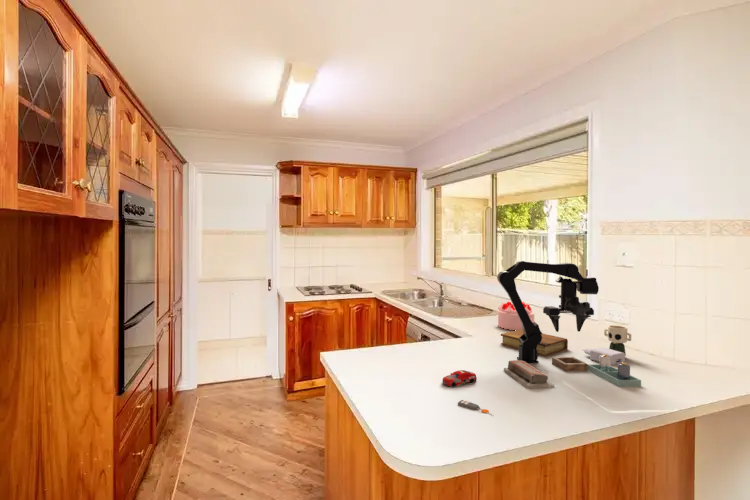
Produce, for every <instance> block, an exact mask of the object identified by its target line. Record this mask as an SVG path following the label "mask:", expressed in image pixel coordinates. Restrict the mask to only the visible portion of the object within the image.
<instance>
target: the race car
mask: <svg viewBox="0 0 750 500" xmlns="http://www.w3.org/2000/svg"><path fill="white" fill-rule="evenodd" d="M477 379H478V377H477V374H476V373H474V372H473V371H469V370H465V369H464V370H462V369H460V370H456V371H453V372H450V373H449V375H446V376H443V378H442V384H443V385H445V386H447V387H451V388H455V387H457V386H458V387H459V386H463V385H468V384H470V385H471V384H474V383H476V382H477Z"/></svg>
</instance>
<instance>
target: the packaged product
mask: <svg viewBox="0 0 750 500" xmlns="http://www.w3.org/2000/svg"><path fill="white" fill-rule="evenodd" d="M503 372H504V373H506V374H508V376H510V377H511V378H512V379H514V380H515V381H516V382H518V384H521V386H523V387H525V388H526V389H530V390H531V389H547V388H548V389H549V388H550V389H551V388H553V389H554V388H555V384H554V383H552V382H550V381H548V379H549V377H548V375H546V374H545V373H544V372H542V371H540V370H539V369H537V368H536V367H534V366H532V365H531V364H530V363H526V362H525V361H522V360H519V359H516V360H509V361H508V363H507V367H504V368H503Z"/></svg>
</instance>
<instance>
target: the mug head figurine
mask: <svg viewBox="0 0 750 500" xmlns="http://www.w3.org/2000/svg"><path fill="white" fill-rule="evenodd" d="M603 334H604V336H605V337H607V339H608V341H610V343H609V347H608V349H611V350H615V351H619V352H623V353H625V357H626V356H627V355H626V354H627V353H626V346H625V344H626V343H627V342H631V341H632V334H631V333H630V332H628V327H626V326H623V325H615V324H613V325H608V327H607V328H604V332H603Z"/></svg>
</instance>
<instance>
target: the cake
mask: <svg viewBox="0 0 750 500" xmlns="http://www.w3.org/2000/svg"><path fill="white" fill-rule="evenodd" d="M522 303H523V305H524V307H525V309H526V311H527V313H528V315H529V318H530V320H531V321H532V323H533V322H535V312H534V311H533V309H532V307H531V306H530V305H529V303H525V302H524V301H522ZM497 308H498V315H497V317H498V318H497V323H498V324H497V325H498V327H499V328H500V327H501V329H503V328H504V329H503V330H507V329H509V330H508V331H513V330H520V329H522V323H521V321H520V319H519V317H518V315H517V312H516V310H515V308H514V306H513V304H512V302H511V301H507V302H506V303H504V302H502V303H501V304H500V305H499V306H498V307H497Z"/></svg>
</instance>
